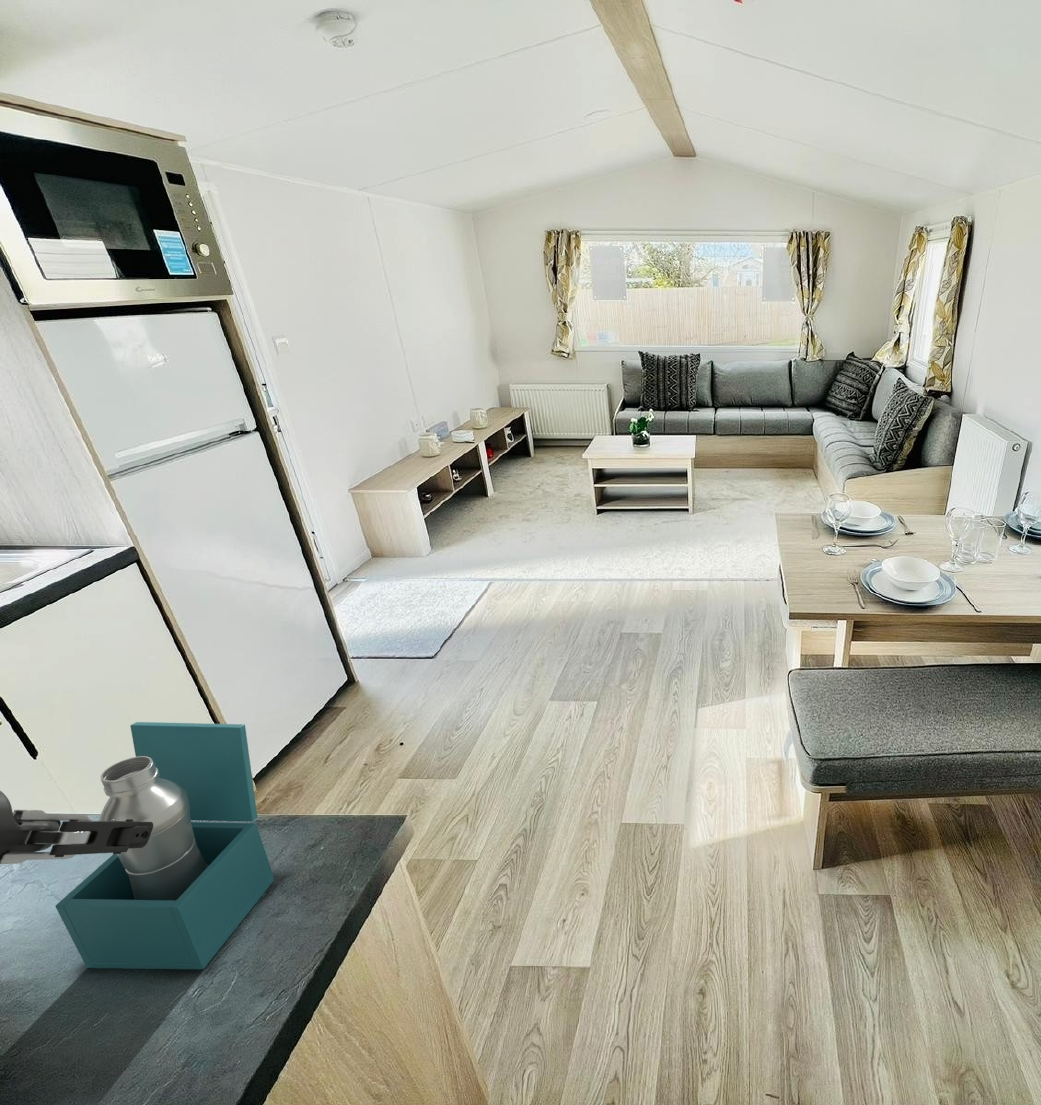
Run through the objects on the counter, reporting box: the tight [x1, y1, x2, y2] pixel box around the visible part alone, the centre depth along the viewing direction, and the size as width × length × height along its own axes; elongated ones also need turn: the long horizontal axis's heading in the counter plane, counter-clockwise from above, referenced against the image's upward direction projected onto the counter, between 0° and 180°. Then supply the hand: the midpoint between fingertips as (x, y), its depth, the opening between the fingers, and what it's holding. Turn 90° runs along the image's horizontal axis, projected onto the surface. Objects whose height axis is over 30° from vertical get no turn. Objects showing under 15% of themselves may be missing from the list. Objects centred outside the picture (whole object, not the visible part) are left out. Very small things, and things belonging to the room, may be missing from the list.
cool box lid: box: [129, 721, 258, 822], centre depth 68 cm, size 11×12×1 cm
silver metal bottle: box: [98, 756, 208, 901], centre depth 63 cm, size 6×7×20 cm
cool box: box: [55, 821, 275, 970], centre depth 66 cm, size 11×12×9 cm
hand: (99, 833), depth 57 cm, fingers open, 8 cm apart
